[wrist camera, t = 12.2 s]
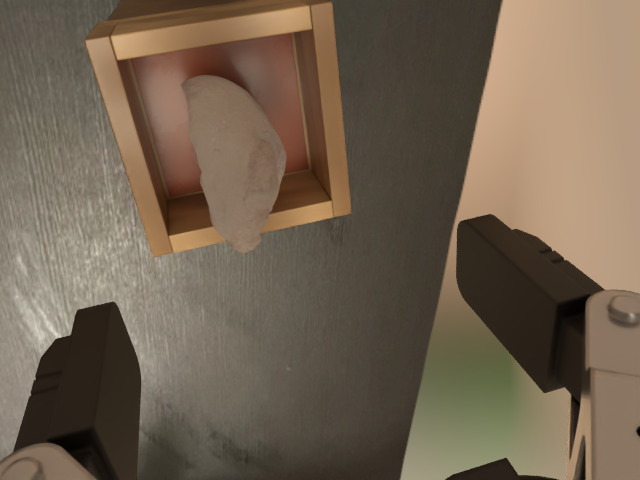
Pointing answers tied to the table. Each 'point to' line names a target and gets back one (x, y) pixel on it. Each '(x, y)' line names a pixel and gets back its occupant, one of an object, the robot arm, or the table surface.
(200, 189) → the open wooden box
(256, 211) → the fossil
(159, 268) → the table surface
